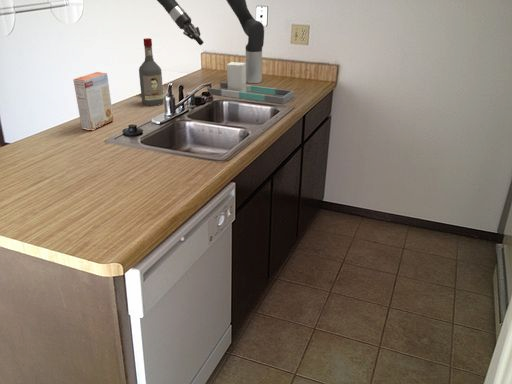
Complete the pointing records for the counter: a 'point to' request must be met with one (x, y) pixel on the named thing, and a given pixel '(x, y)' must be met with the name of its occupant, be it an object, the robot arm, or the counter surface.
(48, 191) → the counter surface
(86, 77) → the cracker box
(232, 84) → the skincare box
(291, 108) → the counter surface
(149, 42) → the liquor
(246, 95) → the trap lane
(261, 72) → the robot arm
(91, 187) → the counter surface
